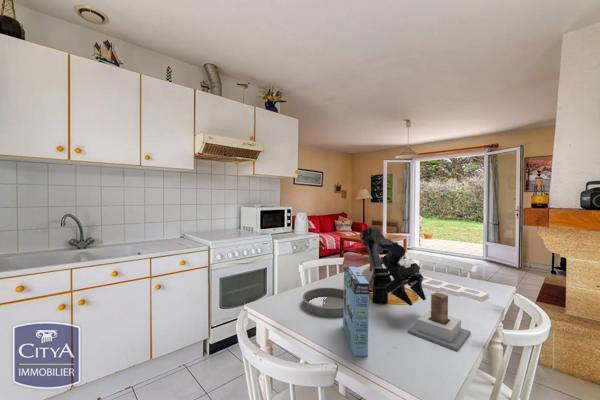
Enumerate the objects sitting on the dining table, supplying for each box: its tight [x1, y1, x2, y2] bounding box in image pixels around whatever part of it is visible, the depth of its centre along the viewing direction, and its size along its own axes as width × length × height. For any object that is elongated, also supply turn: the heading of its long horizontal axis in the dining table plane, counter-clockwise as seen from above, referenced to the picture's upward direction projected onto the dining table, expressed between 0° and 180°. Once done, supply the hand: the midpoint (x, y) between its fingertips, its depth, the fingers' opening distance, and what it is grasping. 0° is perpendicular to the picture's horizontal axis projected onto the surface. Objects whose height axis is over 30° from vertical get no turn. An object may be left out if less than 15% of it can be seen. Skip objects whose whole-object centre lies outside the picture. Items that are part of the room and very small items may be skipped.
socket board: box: [407, 310, 472, 352], centre depth 95 cm, size 16×16×5 cm
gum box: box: [342, 266, 370, 358], centre depth 90 cm, size 20×5×23 cm, turn 0°
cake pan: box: [302, 287, 344, 317], centre depth 119 cm, size 25×25×4 cm
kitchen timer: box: [361, 260, 373, 292], centre depth 142 cm, size 14×14×15 cm
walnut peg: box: [430, 291, 449, 325], centre depth 95 cm, size 4×4×13 cm
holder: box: [390, 275, 489, 302], centre depth 143 cm, size 45×18×3 cm, turn 35°
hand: (418, 302), depth 102 cm, fingers open, 9 cm apart
